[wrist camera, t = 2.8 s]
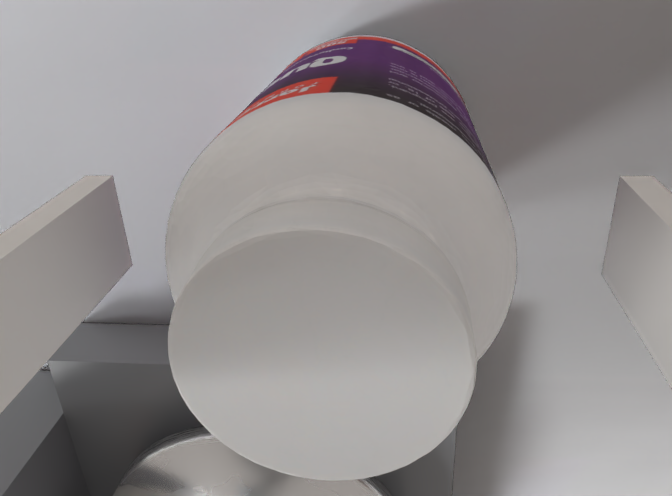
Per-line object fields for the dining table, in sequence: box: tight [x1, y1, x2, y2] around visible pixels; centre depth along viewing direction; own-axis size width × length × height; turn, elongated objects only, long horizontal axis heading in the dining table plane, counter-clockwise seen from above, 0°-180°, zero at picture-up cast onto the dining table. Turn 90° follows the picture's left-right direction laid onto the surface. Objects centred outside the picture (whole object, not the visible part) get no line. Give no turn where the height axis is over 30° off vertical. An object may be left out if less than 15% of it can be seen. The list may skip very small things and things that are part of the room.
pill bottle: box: [165, 35, 517, 481], centre depth 17 cm, size 8×8×14 cm
